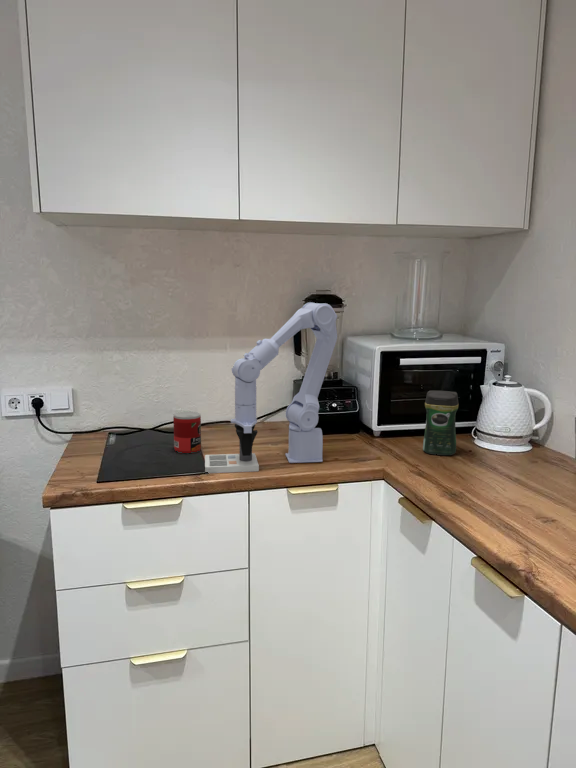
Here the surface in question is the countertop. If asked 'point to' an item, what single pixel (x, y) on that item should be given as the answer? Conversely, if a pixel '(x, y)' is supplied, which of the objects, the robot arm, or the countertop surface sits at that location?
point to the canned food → (187, 431)
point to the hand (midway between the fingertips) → (245, 452)
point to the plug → (244, 458)
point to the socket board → (229, 463)
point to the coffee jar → (440, 422)
